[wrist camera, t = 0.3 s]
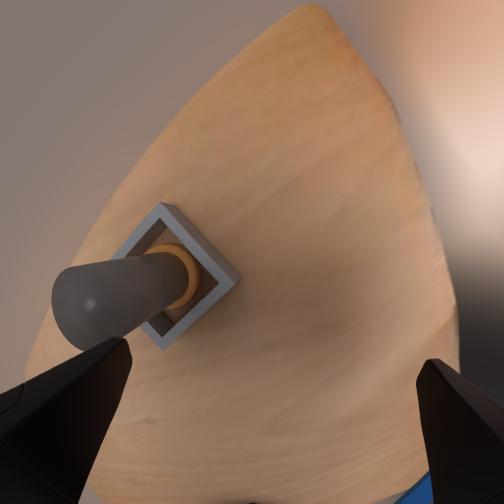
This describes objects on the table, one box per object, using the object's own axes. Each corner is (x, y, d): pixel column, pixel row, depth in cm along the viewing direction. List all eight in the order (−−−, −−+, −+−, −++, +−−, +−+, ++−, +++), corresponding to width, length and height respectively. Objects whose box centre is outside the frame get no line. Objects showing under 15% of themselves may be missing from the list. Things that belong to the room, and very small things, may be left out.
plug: (174, 315, 23) (91, 380, 11) (136, 271, 24) (33, 301, 11) (214, 276, 23) (147, 321, 11) (173, 231, 23) (76, 231, 11)
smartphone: (490, 437, 21) (423, 509, 22) (487, 433, 22) (421, 505, 23) (464, 432, 21) (390, 509, 22) (461, 428, 22) (389, 505, 23)
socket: (175, 338, 24) (162, 350, 21) (116, 270, 24) (98, 274, 21) (241, 277, 23) (235, 284, 20) (174, 205, 23) (160, 201, 20)
